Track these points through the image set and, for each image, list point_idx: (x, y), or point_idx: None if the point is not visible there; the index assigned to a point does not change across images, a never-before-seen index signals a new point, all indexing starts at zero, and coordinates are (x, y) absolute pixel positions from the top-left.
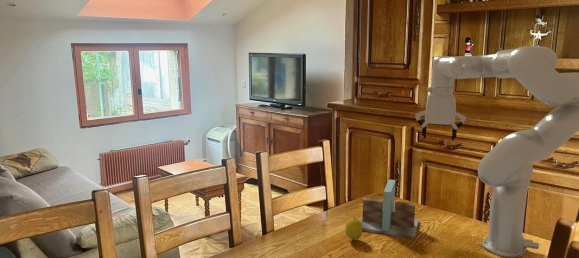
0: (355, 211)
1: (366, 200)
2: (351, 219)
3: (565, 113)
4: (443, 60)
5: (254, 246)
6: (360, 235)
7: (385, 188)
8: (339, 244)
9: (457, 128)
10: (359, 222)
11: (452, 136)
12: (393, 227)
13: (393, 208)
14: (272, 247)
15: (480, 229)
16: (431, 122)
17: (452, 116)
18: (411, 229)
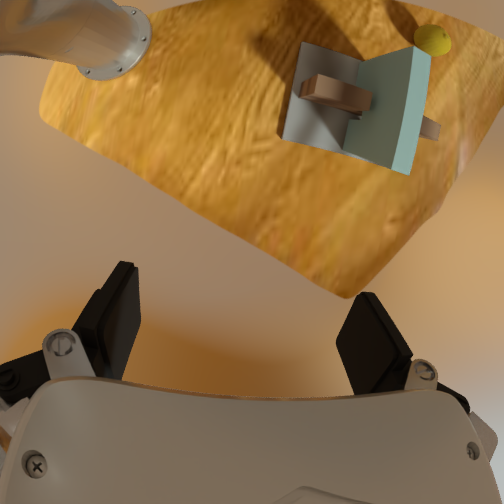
0: (412, 187)
1: (434, 121)
2: (449, 37)
3: None
4: None
5: None
6: (415, 31)
7: (426, 82)
8: None
9: (48, 336)
10: (433, 30)
11: (122, 283)
12: (349, 82)
13: (356, 138)
14: (499, 49)
15: (134, 124)
16: (405, 395)
17: (29, 489)
18: (308, 72)
